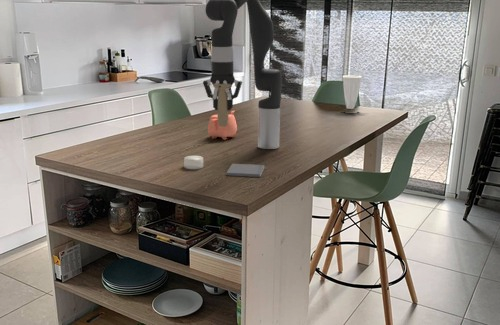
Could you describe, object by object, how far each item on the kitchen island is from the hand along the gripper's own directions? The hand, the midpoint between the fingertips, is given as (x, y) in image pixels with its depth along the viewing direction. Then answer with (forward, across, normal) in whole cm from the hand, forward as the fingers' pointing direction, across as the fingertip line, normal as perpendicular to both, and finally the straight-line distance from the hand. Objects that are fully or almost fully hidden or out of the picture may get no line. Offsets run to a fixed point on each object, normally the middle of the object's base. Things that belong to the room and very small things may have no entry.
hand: (222, 109), depth 180 cm
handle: (+6, 0, 0) cm, 6 cm away
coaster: (+23, -8, -1) cm, 24 cm away
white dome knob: (+23, +12, -3) cm, 26 cm away
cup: (+26, -48, -140) cm, 150 cm away
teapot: (+24, +12, -55) cm, 61 cm away
